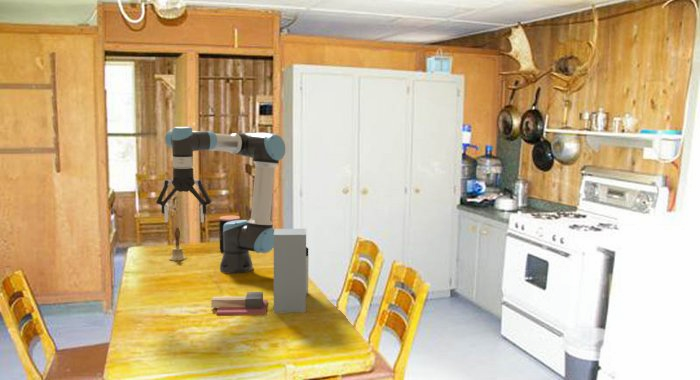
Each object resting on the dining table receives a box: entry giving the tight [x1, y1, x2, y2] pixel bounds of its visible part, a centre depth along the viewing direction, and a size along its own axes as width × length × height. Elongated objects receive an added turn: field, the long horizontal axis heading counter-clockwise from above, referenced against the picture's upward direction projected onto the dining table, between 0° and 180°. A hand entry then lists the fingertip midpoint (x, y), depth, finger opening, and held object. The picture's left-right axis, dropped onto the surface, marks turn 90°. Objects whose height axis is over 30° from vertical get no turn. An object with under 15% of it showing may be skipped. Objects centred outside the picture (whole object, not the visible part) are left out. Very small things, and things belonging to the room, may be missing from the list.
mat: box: [215, 299, 268, 316], centre depth 220 cm, size 13×18×1 cm
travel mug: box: [306, 246, 309, 296], centre depth 236 cm, size 6×7×20 cm
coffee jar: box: [218, 215, 241, 254], centre depth 302 cm, size 11×11×18 cm
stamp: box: [210, 291, 264, 309], centre depth 219 cm, size 8×19×4 cm, turn 95°
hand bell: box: [168, 226, 187, 262], centre depth 285 cm, size 8×8×16 cm
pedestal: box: [273, 228, 307, 314], centre depth 219 cm, size 10×12×30 cm
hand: (184, 221), depth 223 cm, fingers open, 13 cm apart
